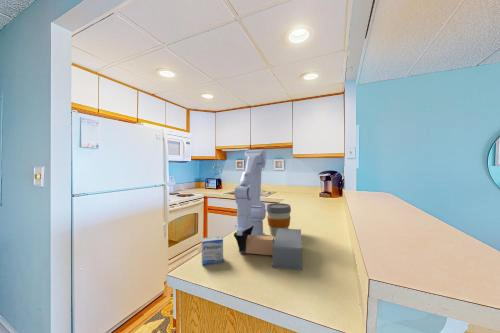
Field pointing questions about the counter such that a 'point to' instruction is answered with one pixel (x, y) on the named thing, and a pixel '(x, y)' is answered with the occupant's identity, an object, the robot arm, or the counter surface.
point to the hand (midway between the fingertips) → (244, 246)
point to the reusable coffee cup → (278, 217)
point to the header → (287, 249)
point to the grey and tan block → (259, 245)
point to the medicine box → (212, 250)
